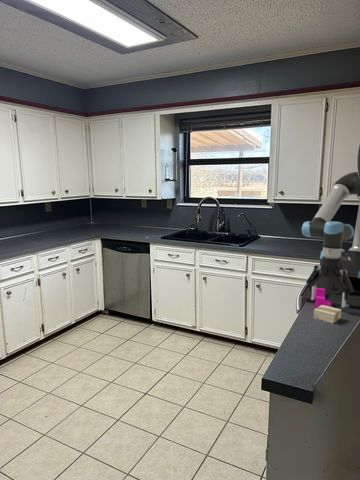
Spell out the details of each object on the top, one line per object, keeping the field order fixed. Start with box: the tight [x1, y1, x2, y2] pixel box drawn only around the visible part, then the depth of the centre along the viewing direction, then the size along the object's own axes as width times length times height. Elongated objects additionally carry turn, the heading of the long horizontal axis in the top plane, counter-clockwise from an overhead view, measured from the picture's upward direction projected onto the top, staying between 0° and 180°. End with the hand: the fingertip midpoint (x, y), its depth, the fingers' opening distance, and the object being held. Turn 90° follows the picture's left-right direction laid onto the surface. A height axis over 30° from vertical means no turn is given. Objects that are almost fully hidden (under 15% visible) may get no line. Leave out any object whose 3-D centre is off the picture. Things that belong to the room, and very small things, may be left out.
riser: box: [313, 305, 342, 324], centre depth 144 cm, size 8×8×5 cm
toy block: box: [314, 288, 332, 309], centre depth 158 cm, size 15×6×8 cm, turn 158°
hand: (327, 302), depth 158 cm, fingers open, 13 cm apart
